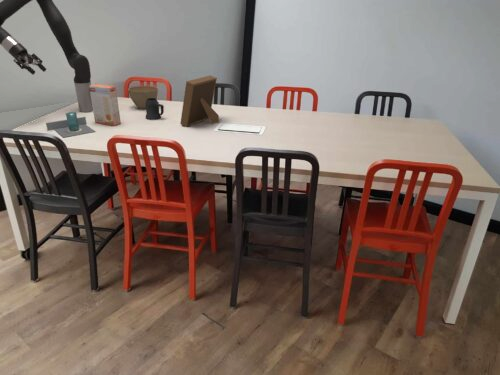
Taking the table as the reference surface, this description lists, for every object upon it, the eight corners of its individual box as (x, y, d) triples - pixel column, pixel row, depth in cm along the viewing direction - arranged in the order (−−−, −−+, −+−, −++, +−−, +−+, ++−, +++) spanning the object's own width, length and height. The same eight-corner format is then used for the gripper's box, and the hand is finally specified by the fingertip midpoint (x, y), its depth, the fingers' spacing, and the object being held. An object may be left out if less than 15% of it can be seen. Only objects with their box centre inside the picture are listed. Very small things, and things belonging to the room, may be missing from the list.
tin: (77, 128, 200) (74, 111, 196) (80, 130, 197) (77, 113, 193) (68, 129, 197) (64, 113, 193) (70, 132, 194) (67, 115, 190)
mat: (85, 124, 207) (85, 123, 207) (95, 131, 197) (95, 131, 196) (54, 129, 198) (54, 129, 198) (63, 137, 187) (63, 137, 187)
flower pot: (155, 111, 234) (153, 91, 229) (126, 110, 235) (124, 91, 229) (162, 104, 251) (160, 85, 245) (135, 103, 251) (133, 85, 245)
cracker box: (121, 123, 210) (116, 86, 201) (113, 126, 205) (108, 88, 196) (102, 120, 215) (96, 83, 206) (94, 122, 211) (88, 85, 201)
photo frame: (180, 125, 209) (178, 79, 198) (203, 116, 226) (202, 74, 215) (201, 130, 202) (200, 83, 191) (224, 121, 219) (224, 77, 208)
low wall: (86, 123, 209) (84, 116, 207) (86, 124, 208) (85, 117, 207) (47, 130, 197) (45, 122, 196) (47, 130, 197) (46, 123, 195)
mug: (142, 118, 220) (140, 99, 215) (152, 115, 227) (150, 96, 222) (158, 121, 215) (157, 102, 210) (168, 117, 223) (166, 98, 218)
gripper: (7, 44, 184) (33, 69, 188) (27, 41, 197) (52, 64, 200) (0, 55, 187) (27, 79, 191) (21, 51, 200) (45, 74, 203)
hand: (39, 71), depth 196 cm, fingers open, 8 cm apart
